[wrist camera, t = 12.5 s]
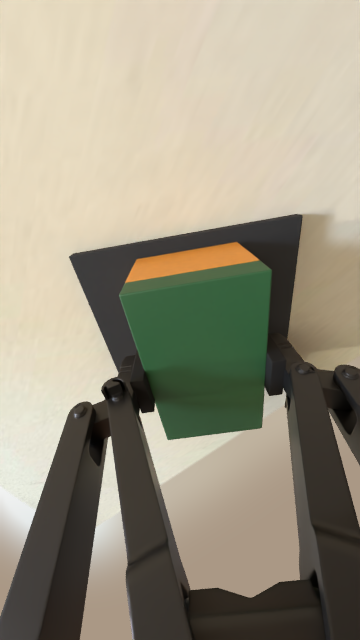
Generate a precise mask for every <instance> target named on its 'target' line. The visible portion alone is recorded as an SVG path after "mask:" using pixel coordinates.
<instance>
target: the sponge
mask: <svg viewBox="0 0 360 640" xmlns="http://www.w3.org/2000/svg"><path fill="white" fill-rule="evenodd" d="M271 280H272V270H271V269H270V268H269V267H268V266H266V265H265V264H264V263H262V262H261V261H260V260H259V259H258V258H257V257H255V256H254V255H253V254H252V253H250V252H249V251H248V250H246V249H245V248H244V247H243V246H241V245H240V244H239V243H238V242H234V243H228V244H222V245H216V246H210V247H205V248H199V249H193V250H187V251H181V252H176V253H170V254H164V255H158V256H152V257H147V258H141V259H137V260H136V262H135V264H134V266H133V268H132V270H131V272H130V274H129V276H128V278H127V280H126V282H125V284H124V286H123V288H122V290H121V292H120V294H119V297H120V300H121V303H122V306H123V309H124V312H125V315H126V318H127V321H128V324H129V327H130V330H131V333H132V336H133V338H134V341H135V344H136V347H137V350H138V353H139V356H140V359H141V362H142V365H143V368H144V370H145V373H146V376H147V379H148V382H149V385H150V388H151V391H152V394H153V397H154V400H155V404H156V406H157V409H158V412H159V415H160V418H161V421H162V424H163V427H164V430H165V433H166V436H167V439H168V440H172V439H180V438H188V437H196V436H204V435H212V434H220V433H227V432H235V431H243V430H251V429H258V428H262V418H263V403H264V388H265V386H264V385H265V370H266V354H267V342H268V326H269V311H270V295H271Z"/></svg>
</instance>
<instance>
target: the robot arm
mask: <svg viewBox="0 0 360 640" xmlns="http://www.w3.org/2000/svg"><path fill="white" fill-rule="evenodd" d="M264 386H265V388H266V390H267V392H268V394H269V396H273V395H280V394H282V391H283V388H284V390H285V392H286V401H285V408H287V418H288V428H289V438H290V450H291V461H292V471H293V481H294V493H295V504H296V514H297V525H298V536H299V547H300V552H299V553H300V554H299V570H300V580H297V581H286V582H279V583H277V584H275V585H274V586H272V587H270V588H269V589H267V590H265V591H263V592H261V593H260V594H258V595H256V596H255V597H252V598H248V597H245V596H242V595H238V594H235V593H232V592H229V591H226V590H223V589H219V588H212V589H200V590H190V587H189V584H188V580H187V577H186V574H185V571H184V568H183V565H182V562H181V559H180V556H179V552H178V549H177V545H176V542H175V538H174V535H173V531H172V528H171V524H170V521H169V517H168V513H167V510H166V507H165V503H164V499H163V496H162V493H161V489H160V485H159V482H158V478H157V475H156V471H155V468H154V464H153V461H152V457H151V454H150V450H149V447H148V443H147V439H146V436H145V432H144V429H143V425H142V422H141V418H140V416H139V411H140V409H141V412H142V413H147V412H154V407H155V400H154V397H153V394H152V391H151V388H150V385H149V382H148V379H147V376H146V373H145V370H144V368H143V365H142V362H141V359H140V356H139V353H138V350H136V355H131V356H126V357H125V358H124V360H123V361H122V363H121V367H120V370H119V374H118V377H115V378H111V379H110V380H108V381H107V382H105V383H104V385H103V386H102V390H101V391H102V393H103V395H104V397H105V400H104V401H102V402H99V403H97V404H94V405H92V404H91V403H90V402H81V403H79V404H77V405H76V406H74V407H73V408H72V409H71V410H70V412H69V414H68V417H67V420H66V423H65V426H64V429H63V432H62V435H61V438H60V441H59V444H58V447H57V450H56V453H55V456H54V459H53V462H52V465H51V468H50V471H49V474H48V477H47V479H46V482H45V485H44V488H43V491H42V494H41V497H40V500H39V503H38V506H37V509H36V512H35V516H34V518H33V521H32V524H31V527H30V530H29V533H28V536H27V539H26V542H25V545H24V548H23V551H22V554H21V557H20V560H19V563H18V566H17V569H16V572H15V575H14V578H13V581H12V584H11V587H10V590H9V593H8V596H7V599H6V602H5V605H4V608H3V610H2V613H1V616H0V640H80V634H81V627H82V619H83V612H84V605H85V598H86V590H87V584H88V577H89V569H90V562H91V555H92V547H93V540H94V534H95V527H96V519H97V512H98V505H99V498H100V491H101V484H102V477H103V470H104V462H105V455H106V448H107V441H108V437H110V436H111V439H112V446H113V454H114V461H115V469H116V476H117V484H118V491H119V499H120V506H121V514H122V521H123V529H124V536H125V543H126V551H127V559H128V566H127V570H126V588H127V597H128V605H129V614H130V621H131V630H132V639H133V640H360V527H359V524H358V520H357V516H356V512H355V509H354V505H353V501H352V498H351V494H350V490H349V486H348V483H347V479H346V475H345V471H344V468H343V464H342V460H341V456H340V453H339V449H338V445H337V441H336V438H335V435H334V430H333V426H332V423H331V419H330V416H329V412H330V414H331V416H332V417H333V419H334V421H335V423H336V424H337V426H338V428H339V430H340V432H341V433H342V435H343V437H344V438H345V440H346V442H347V444H348V446H349V447H350V449H351V451H352V453H353V454H354V456H355V458H356V459H357V461H358V463H359V465H360V369H358V368H356V367H354V366H350V365H340V366H337V367H336V368H335V371H327V370H319V369H316V367H314V366H313V365H312V364H310V363H308V362H304V361H303V359H302V358H301V357H300V355H299V354H298V353H297V352H296V350H295V349H294V348H293V347H292V345H291V344H290V343H289V341H288V340H287V339H286V337H284V336H283V335H281V334H280V333H275V334H269V333H268V342H267V354H266V370H265V385H264Z"/></svg>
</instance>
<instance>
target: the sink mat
mask: <svg viewBox="0 0 360 640" xmlns="http://www.w3.org/2000/svg"><path fill="white" fill-rule="evenodd" d="M301 224H302V215H298V214H294V215H289V216H283V217H278V218H272V219H266V220H261V221H255V222H249V223H244V224H238V225H232V226H227V227H221V228H216V229H210V230H204V231H199V232H193V233H187V234H182V235H176V236H170V237H165V238H159V239H154V240H148V241H142V242H137V243H131V244H125V245H120V246H114V247H108V248H103V249H97V250H92V251H86V252H80V253H75V254H72V255H71V256H69V258H70V260H71V263H72V265H73V267H74V270H75V272H76V274H77V277H78V279H79V281H80V284H81V286H82V288H83V291H84V293H85V295H86V298H87V300H88V303H89V305H90V307H91V310H92V312H93V314H94V317H95V319H96V321H97V324H98V326H99V328H100V331H101V333H102V335H103V338H104V340H105V342H106V345H107V347H108V349H109V352H110V354H111V356H112V359H113V361H114V363H115V366H116V368H117V370H118V373H119V370H120V367H121V363H122V361H123V360H124V358H125V357H126V356H131V355H136V350H137V347H136V344H135V341H134V338H133V336H132V333H131V330H130V327H129V324H128V321H127V318H126V315H125V312H124V309H123V306H122V303H121V300H120V297H119V294H120V292H121V290H122V288H123V286H124V284H125V282H126V280H127V278H128V276H129V274H130V272H131V270H132V268H133V266H134V264H135V262H136V260H137V259H141V258H147V257H152V256H158V255H164V254H170V253H176V252H181V251H187V250H193V249H199V248H205V247H210V246H216V245H222V244H228V243H234V242H238V243H239V244H240V245H241V246H243V247H244V248H245V249H246V250H248V251H249V252H250V253H252V254H253V255H254V256H255V257H257V258H258V259H259V260H260V261H261V262H262V263H264V264H265V265H266V266H268V267H269V268H270V269H271V270H272V280H271V295H270V311H269V326H268V333H269V334H275V333H280V334H281V335H283V336H284V337H286V339H287V336H288V328H289V320H290V312H291V304H292V296H293V288H294V280H295V272H296V264H297V256H298V248H299V240H300V232H301Z"/></svg>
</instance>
